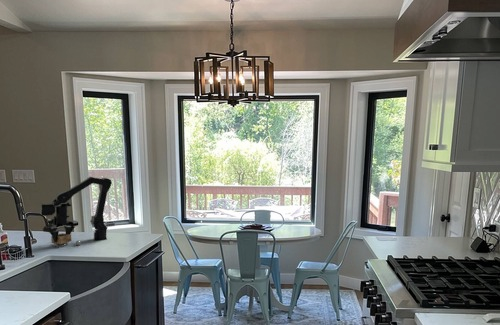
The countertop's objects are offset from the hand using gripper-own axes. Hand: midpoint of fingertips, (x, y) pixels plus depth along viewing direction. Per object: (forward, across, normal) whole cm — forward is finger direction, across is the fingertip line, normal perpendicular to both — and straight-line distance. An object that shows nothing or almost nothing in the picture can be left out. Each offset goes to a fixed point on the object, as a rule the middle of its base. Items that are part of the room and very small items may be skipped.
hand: (61, 240), depth 173 cm
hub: (+3, 0, 0) cm, 3 cm away
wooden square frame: (+1, 0, 0) cm, 1 cm away
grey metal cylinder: (+3, -3, +9) cm, 10 cm away
